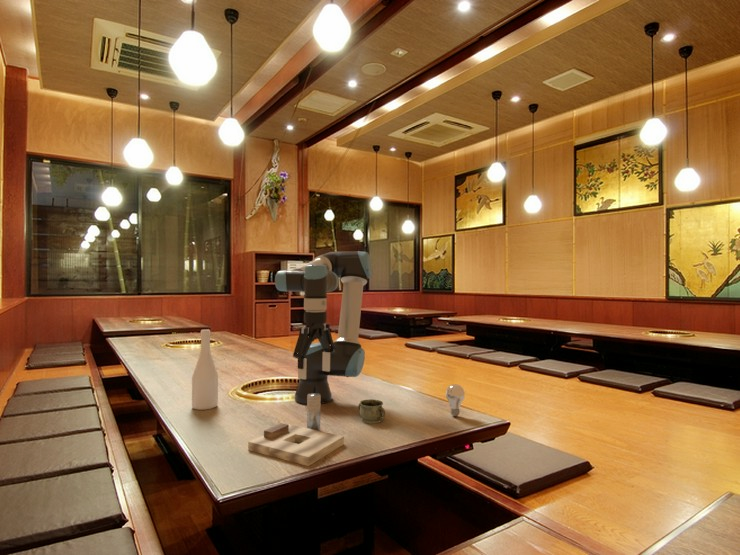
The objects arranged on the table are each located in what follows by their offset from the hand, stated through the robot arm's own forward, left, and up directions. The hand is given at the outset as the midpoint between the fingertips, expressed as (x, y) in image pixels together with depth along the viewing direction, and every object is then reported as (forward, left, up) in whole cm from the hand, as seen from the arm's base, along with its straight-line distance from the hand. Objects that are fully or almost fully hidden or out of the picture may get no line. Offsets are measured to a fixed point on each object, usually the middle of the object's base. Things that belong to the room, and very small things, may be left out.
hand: (314, 374), depth 148 cm
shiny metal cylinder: (0, 0, -19) cm, 19 cm away
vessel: (+11, +20, -19) cm, 30 cm away
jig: (+4, -14, -19) cm, 24 cm away
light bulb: (+36, +39, -19) cm, 56 cm away
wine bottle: (-52, 0, -19) cm, 55 cm away
